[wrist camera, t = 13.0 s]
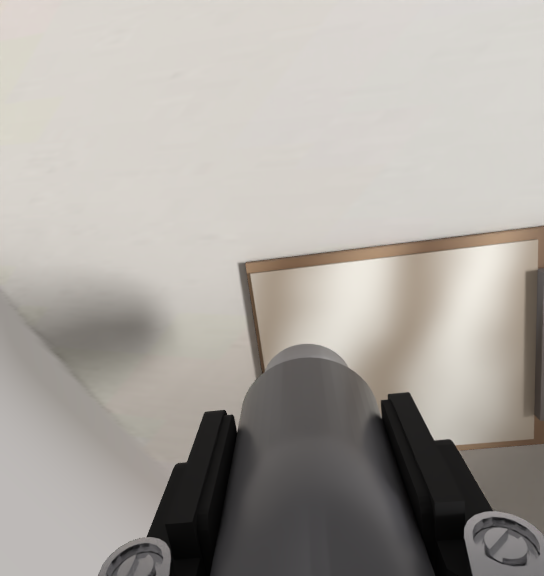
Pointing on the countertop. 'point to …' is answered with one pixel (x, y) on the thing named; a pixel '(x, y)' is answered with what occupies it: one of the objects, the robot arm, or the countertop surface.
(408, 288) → the clipboard
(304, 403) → the grey rounded cylinder
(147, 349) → the countertop surface
